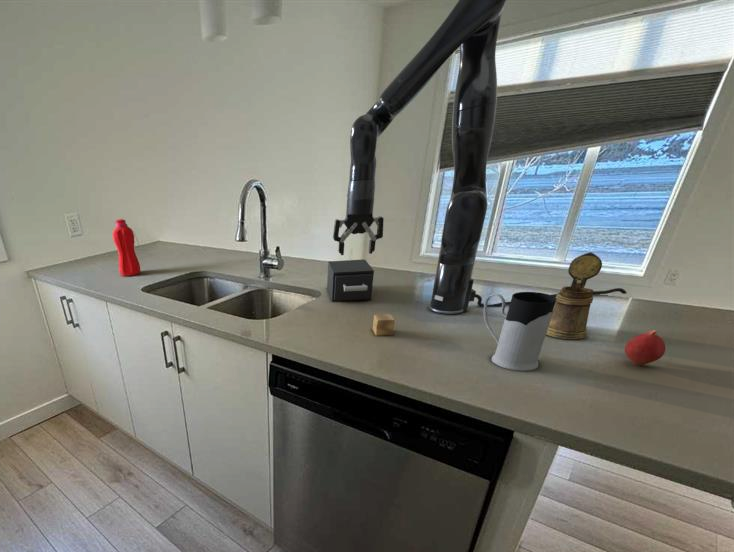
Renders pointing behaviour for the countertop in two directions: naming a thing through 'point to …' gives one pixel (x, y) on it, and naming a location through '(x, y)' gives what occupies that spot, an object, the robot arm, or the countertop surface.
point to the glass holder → (522, 329)
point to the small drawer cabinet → (346, 273)
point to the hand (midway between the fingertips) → (356, 253)
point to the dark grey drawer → (353, 286)
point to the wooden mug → (575, 300)
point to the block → (383, 324)
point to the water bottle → (126, 249)
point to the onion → (645, 348)
